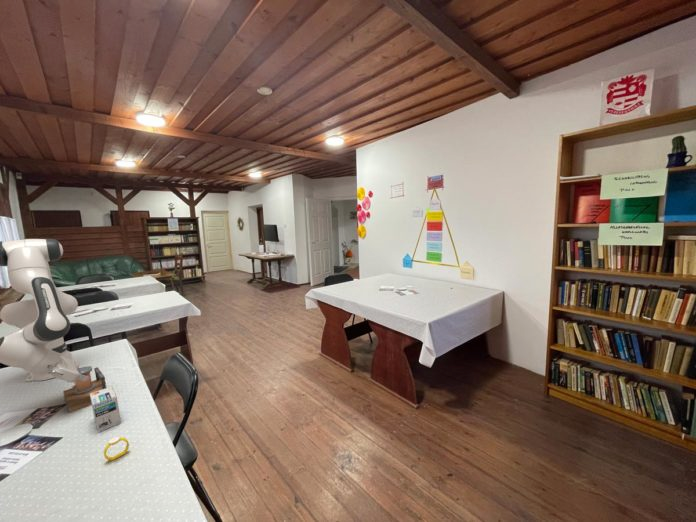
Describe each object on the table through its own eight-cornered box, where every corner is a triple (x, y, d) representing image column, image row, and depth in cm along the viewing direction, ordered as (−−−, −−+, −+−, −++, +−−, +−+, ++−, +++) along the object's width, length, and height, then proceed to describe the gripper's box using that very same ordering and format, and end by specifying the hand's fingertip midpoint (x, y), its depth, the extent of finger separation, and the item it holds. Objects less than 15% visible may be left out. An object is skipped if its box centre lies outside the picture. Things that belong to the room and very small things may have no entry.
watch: (128, 448, 92) (126, 431, 92) (130, 452, 91) (128, 435, 90) (104, 460, 88) (101, 442, 87) (106, 465, 86) (103, 447, 85)
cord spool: (73, 391, 120) (69, 371, 118) (93, 384, 125) (90, 364, 123) (76, 396, 116) (72, 376, 114) (96, 389, 121) (93, 369, 119)
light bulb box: (121, 423, 105) (117, 396, 103) (97, 433, 100) (92, 405, 98) (116, 410, 112) (112, 385, 110) (93, 419, 107) (89, 393, 106)
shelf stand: (64, 399, 121) (60, 378, 119) (101, 386, 130) (98, 366, 129) (70, 412, 112) (65, 390, 111) (109, 397, 121) (105, 376, 120)
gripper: (57, 362, 106) (96, 375, 115) (51, 348, 119) (86, 361, 128) (42, 379, 103) (83, 391, 112) (37, 363, 116) (74, 375, 125)
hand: (84, 375), depth 120 cm, fingers open, 8 cm apart
